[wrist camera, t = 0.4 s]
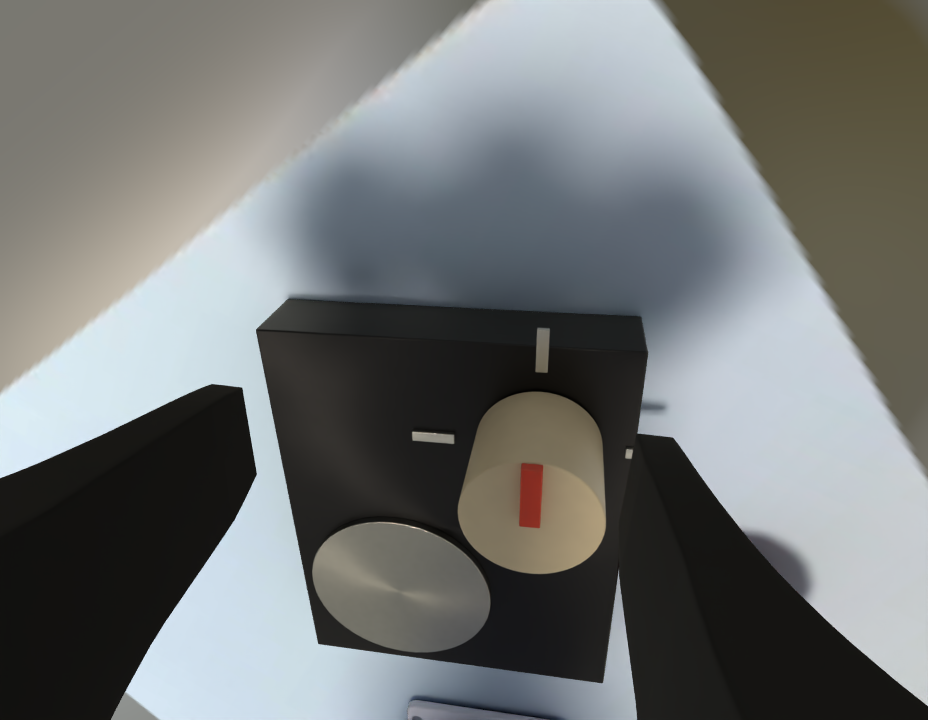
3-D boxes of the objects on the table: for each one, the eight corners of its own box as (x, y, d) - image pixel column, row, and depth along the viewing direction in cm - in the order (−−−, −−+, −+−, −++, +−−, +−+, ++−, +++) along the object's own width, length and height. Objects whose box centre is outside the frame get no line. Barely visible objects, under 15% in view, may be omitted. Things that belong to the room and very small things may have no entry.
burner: (491, 656, 25) (490, 663, 25) (326, 634, 26) (323, 640, 26) (491, 526, 22) (490, 533, 22) (303, 507, 23) (299, 513, 23)
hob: (627, 634, 27) (631, 691, 25) (337, 597, 29) (316, 647, 27) (679, 300, 20) (693, 338, 17) (284, 282, 22) (249, 314, 19)
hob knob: (597, 499, 21) (599, 590, 17) (477, 487, 21) (457, 574, 18) (607, 395, 19) (613, 476, 15) (475, 386, 19) (453, 462, 16)
